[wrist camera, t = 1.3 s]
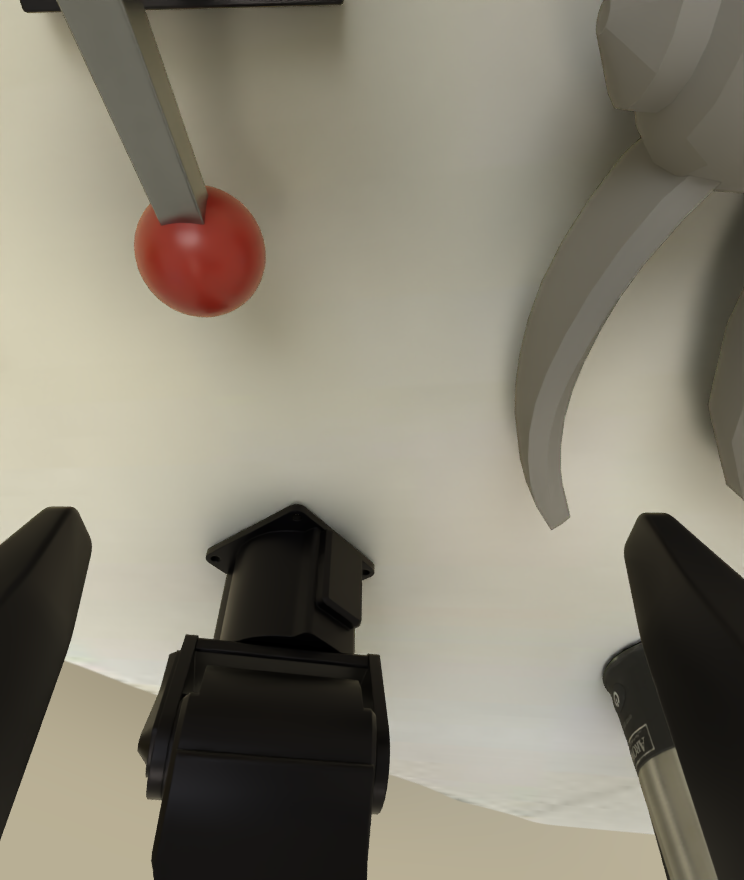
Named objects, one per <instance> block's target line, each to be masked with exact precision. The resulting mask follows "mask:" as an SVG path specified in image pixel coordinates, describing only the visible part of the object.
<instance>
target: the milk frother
mask: <svg viewBox="0 0 744 880" xmlns="http://www.w3.org/2000/svg"><path fill="white" fill-rule="evenodd" d="M603 683H604V686H605V688H606V690H607V691H608V692H609V693H610V694H611V697H612V700H613V704H614V707H615V710H616V712H617V714H618V716H619V719H620V722H621V725H622V728H623V731H624V734H625V737H626V740H627V742H628V746H629V750H630V754H631V757H632V760H633V763H634V766H635V769H636V771H637V775H638V777H639V781H640V785H641V788H642V791H643V795H644V798H645V801H646V804H647V807H648V811H649V814H650V818H651V822H652V825H653V829H654V833H655V836H656V840H657V843H658V847H659V850H660V854H661V858H662V862H663V865H664V869H665V873H666V876H667V880H718V879H717V876H716V873H715V870H714V866H713V863H712V860H711V857H710V854H709V851H708V848H707V845H706V842H705V839H704V836H703V832H702V829H701V826H700V823H699V820H698V817H697V814H696V811H695V808H694V805H693V802H692V798H691V795H690V792H689V789H688V786H687V783H686V780H685V777H684V774H683V771H682V767H681V764H680V761H679V758H678V755H677V752H676V749H675V746H674V743H673V740H672V737H671V733H670V730H669V727H668V724H667V721H666V718H665V715H664V712H663V709H662V706H661V703H660V699H659V696H658V693H657V690H656V687H655V684H654V681H653V678H652V675H651V672H650V668H649V665H648V662H647V659H646V656H645V652H644V649H643V646H642V643H639V644H637V645H635V646H632V647H631V648H628V649H627V650H625V651H623V652H622V653H620V654H619V655H617V656H616V657H614V658H613V659H612V661H611V662H610V663H609V664H608V665H607V667H606V669H605V671H604V674H603Z"/></svg>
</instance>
